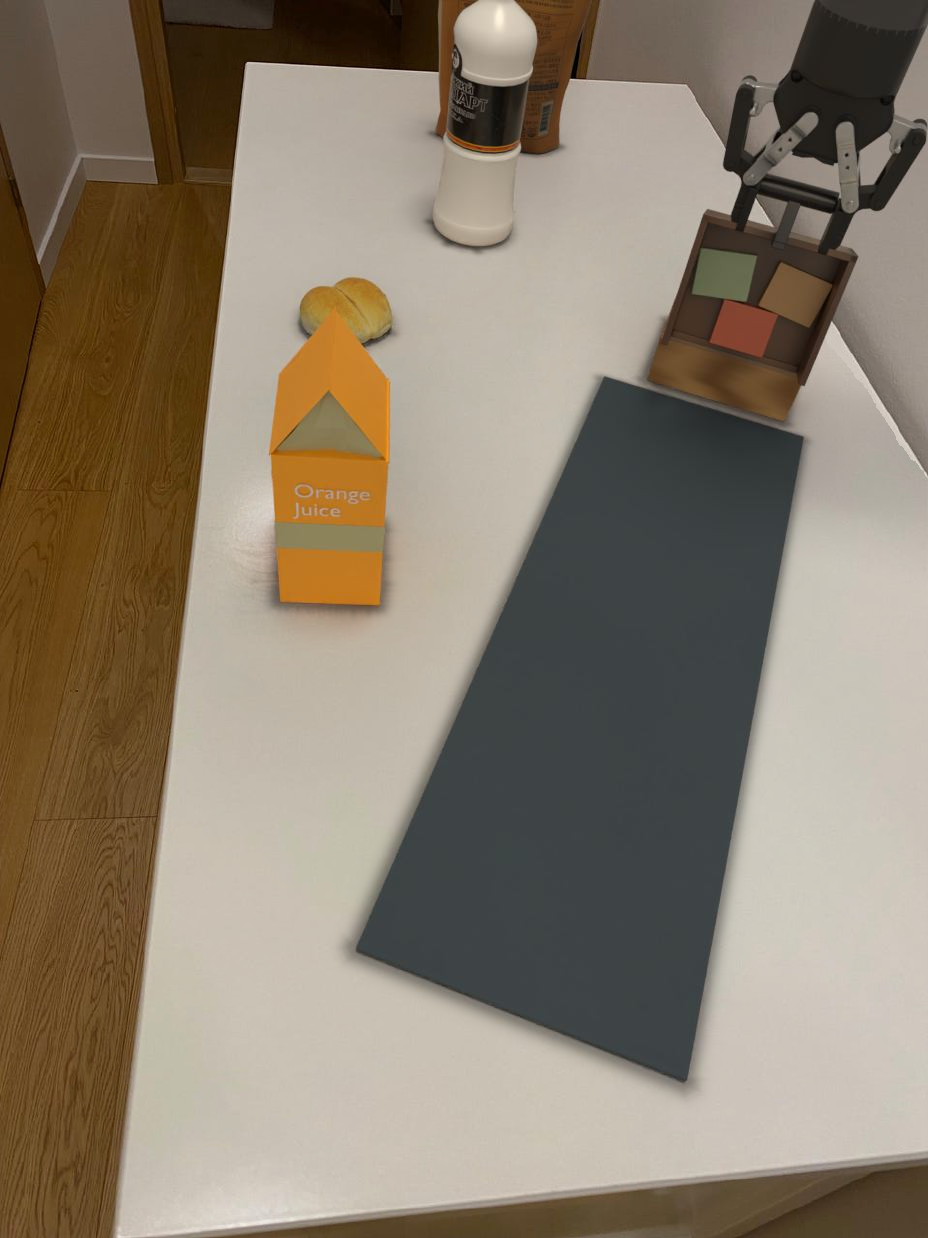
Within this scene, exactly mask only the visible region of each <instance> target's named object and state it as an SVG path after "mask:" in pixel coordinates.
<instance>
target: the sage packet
mask: <svg viewBox="0 0 928 1238" xmlns="http://www.w3.org/2000/svg"><path fill="white" fill-rule="evenodd" d="M756 260H757V254H756V253H749V252H741V251H734V250H726V249H719V248H712V247H704V246H702V247H701V249H700V253H699V258H698V263H697V268H696V273H695V278H694V283H693V288H692V292H691V293H692V294H694V295H701V296H708V297H715V298H722V299H729V300H735V301H742V302H747V299H748V295H749V290H750V286H751V282H752V278H753V273H754V269H755V265H756Z"/></svg>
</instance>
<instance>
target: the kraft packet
mask: <svg viewBox="0 0 928 1238" xmlns="http://www.w3.org/2000/svg"><path fill="white" fill-rule="evenodd" d="M832 287H833V284H832V282H829V281H827V280H825V279H823V278H820V277H818V276H816V275H813V274H811V273H809V272H807V271H804V270H802V269H800V268H798V267H795V266H793V265H791V264H788V263H786V262H784V261H782V260H780V262H779V264H778V266H777V268H776V270H775V272H774V274H773V275H772V277H771V279H770V281H769V283H768V285H767V287H766V289H765V291H764V293H763V295H762V297H761V299H760V300H759V302H758V305H759V306H760V307H763V308H765V309H767V310H769V311H772V312H774V313H776V314H778V315H781V316H783V317H785V318H788V319H790V320H792V321H794V322H797V323H799V324H801V325H803V326H806V327H808V328H810V326H811V325H812V323H813V321H814V319H815V317H816V316H817V314H818V312H819V310H820V308H821V307H822V305H823V303H824V301H825V299H826V298H827V296H828V294H829V292H830V290H831V289H832Z"/></svg>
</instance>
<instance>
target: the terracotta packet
mask: <svg viewBox="0 0 928 1238" xmlns="http://www.w3.org/2000/svg"><path fill="white" fill-rule="evenodd" d="M777 317H778V314H776V313H774V312H772V311H769V310H767V309H765V308H763V307H759V306H756V305H752V304H749V303H745V302H742V301H735V300H729V299H724V301H723V304H722V307H721V309H720V312H719V315H718V318H717V321H716V323H715V326H714V329H713V332H712V335H711V338H710V341H709V342H710V343H713V344H716V345H720V346H723V347H726V348H730V349H733V350H737V351H740V352H743V353H747V354H750V355H754V356H757V357H760V358H762V356H763V354H764V351H765V348H766V346H767V343H768V341H769V338H770V335H771V333H772V330H773V328H774V325H775V322H776V320H777Z"/></svg>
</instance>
